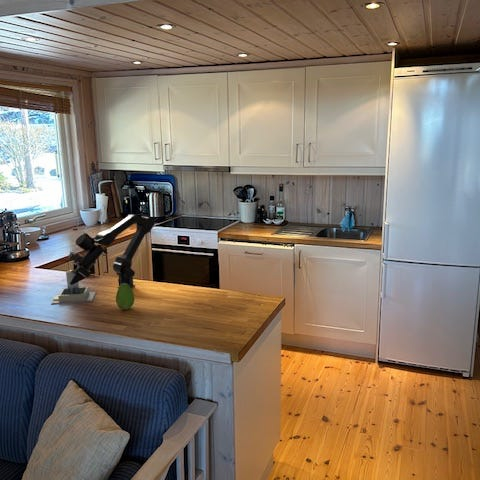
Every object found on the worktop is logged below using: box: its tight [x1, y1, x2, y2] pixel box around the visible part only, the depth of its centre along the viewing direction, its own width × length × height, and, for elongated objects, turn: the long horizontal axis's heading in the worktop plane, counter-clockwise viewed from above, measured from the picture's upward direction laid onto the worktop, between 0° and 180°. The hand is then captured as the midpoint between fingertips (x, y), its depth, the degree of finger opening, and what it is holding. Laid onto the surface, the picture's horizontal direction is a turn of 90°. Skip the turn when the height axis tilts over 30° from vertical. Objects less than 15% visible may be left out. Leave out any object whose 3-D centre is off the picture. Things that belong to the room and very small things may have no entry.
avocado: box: [115, 283, 135, 311], centre depth 209 cm, size 8×8×12 cm
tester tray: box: [51, 286, 97, 305], centre depth 226 cm, size 18×13×4 cm
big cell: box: [65, 269, 80, 295], centre depth 225 cm, size 5×5×13 cm
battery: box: [89, 264, 96, 276], centre depth 266 cm, size 4×7×10 cm, turn 114°
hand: (69, 281), depth 224 cm, fingers open, 9 cm apart
